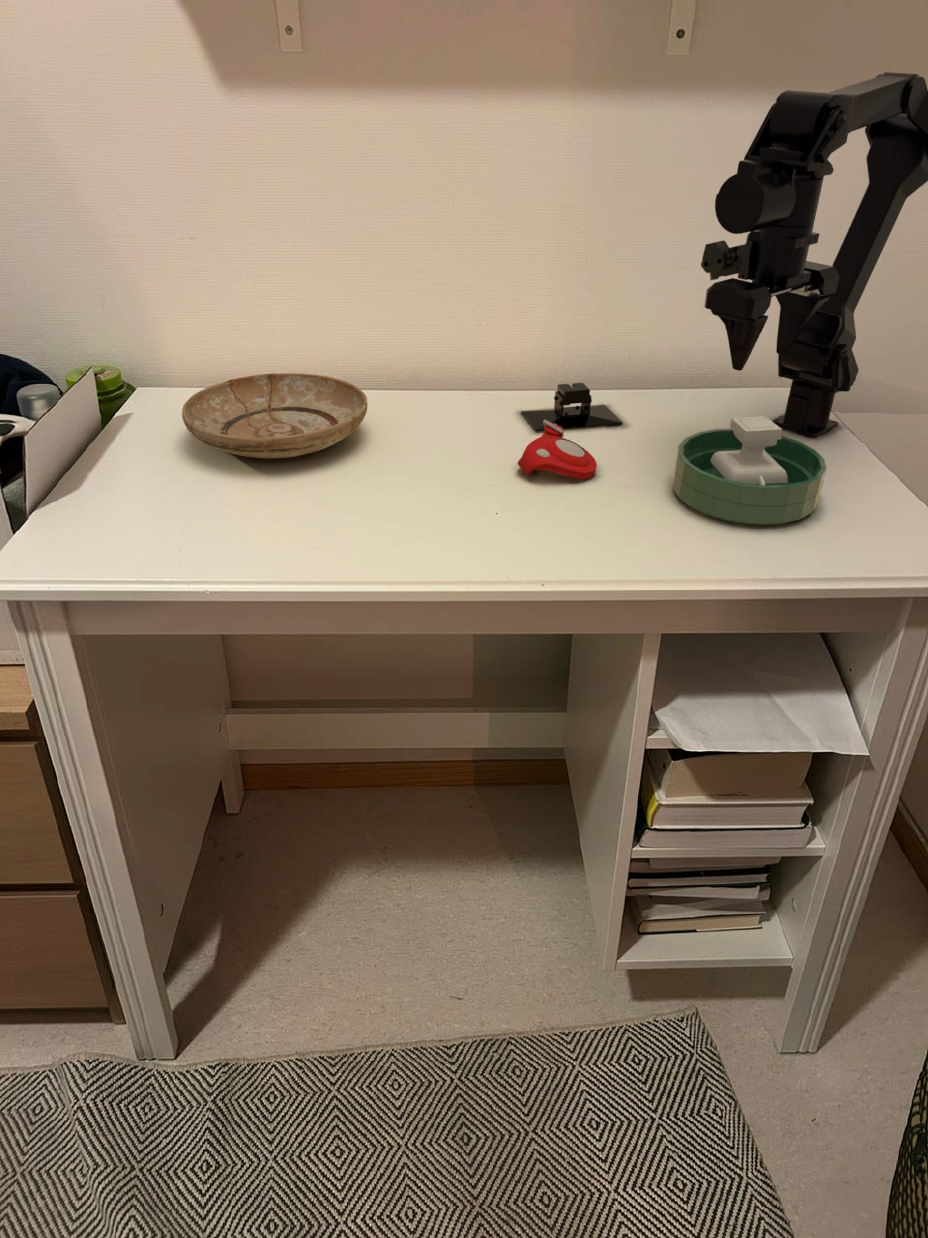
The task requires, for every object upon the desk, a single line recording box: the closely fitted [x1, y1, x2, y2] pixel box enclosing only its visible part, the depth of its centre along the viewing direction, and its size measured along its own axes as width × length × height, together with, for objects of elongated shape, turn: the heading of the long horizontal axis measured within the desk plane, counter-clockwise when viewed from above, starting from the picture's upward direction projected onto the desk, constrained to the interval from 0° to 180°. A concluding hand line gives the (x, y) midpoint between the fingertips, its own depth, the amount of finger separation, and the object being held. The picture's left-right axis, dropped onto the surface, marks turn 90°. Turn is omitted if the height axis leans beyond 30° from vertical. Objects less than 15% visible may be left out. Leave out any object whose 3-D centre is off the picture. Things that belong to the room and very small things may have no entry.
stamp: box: [711, 415, 788, 486], centre depth 104 cm, size 9×7×8 cm
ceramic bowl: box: [181, 372, 369, 459], centre depth 118 cm, size 23×24×5 cm
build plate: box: [520, 382, 624, 433], centre depth 124 cm, size 12×7×5 cm, turn 104°
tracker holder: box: [517, 420, 598, 480], centre depth 112 cm, size 12×4×10 cm
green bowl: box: [672, 428, 827, 527], centre depth 105 cm, size 16×16×5 cm
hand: (759, 361), depth 110 cm, fingers open, 9 cm apart
